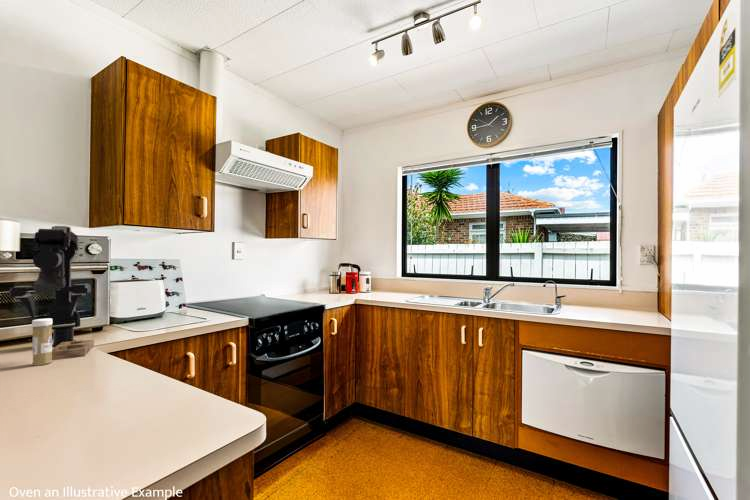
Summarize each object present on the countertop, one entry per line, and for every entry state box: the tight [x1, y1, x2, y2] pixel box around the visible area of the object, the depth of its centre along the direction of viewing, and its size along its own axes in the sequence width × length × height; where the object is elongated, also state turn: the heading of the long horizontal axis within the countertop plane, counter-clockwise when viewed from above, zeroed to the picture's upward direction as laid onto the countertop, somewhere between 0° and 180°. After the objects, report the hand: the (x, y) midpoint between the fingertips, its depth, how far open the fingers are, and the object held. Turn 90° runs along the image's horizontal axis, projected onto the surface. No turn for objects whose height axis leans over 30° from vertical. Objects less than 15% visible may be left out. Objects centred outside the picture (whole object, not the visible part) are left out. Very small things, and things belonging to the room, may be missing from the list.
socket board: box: [52, 338, 95, 361], centre depth 122 cm, size 9×16×2 cm, turn 29°
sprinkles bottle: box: [31, 317, 53, 366], centre depth 109 cm, size 5×5×14 cm
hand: (52, 317), depth 115 cm, fingers open, 9 cm apart
